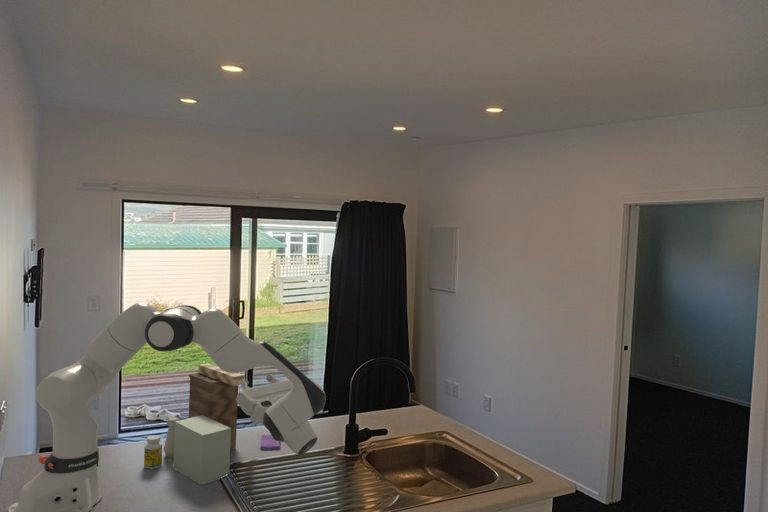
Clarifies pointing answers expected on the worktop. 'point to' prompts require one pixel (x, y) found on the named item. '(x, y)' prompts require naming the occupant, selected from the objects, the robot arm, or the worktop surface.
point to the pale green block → (202, 449)
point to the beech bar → (220, 374)
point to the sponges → (269, 443)
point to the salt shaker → (170, 437)
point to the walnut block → (214, 402)
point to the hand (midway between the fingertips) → (256, 378)
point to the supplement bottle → (153, 452)
